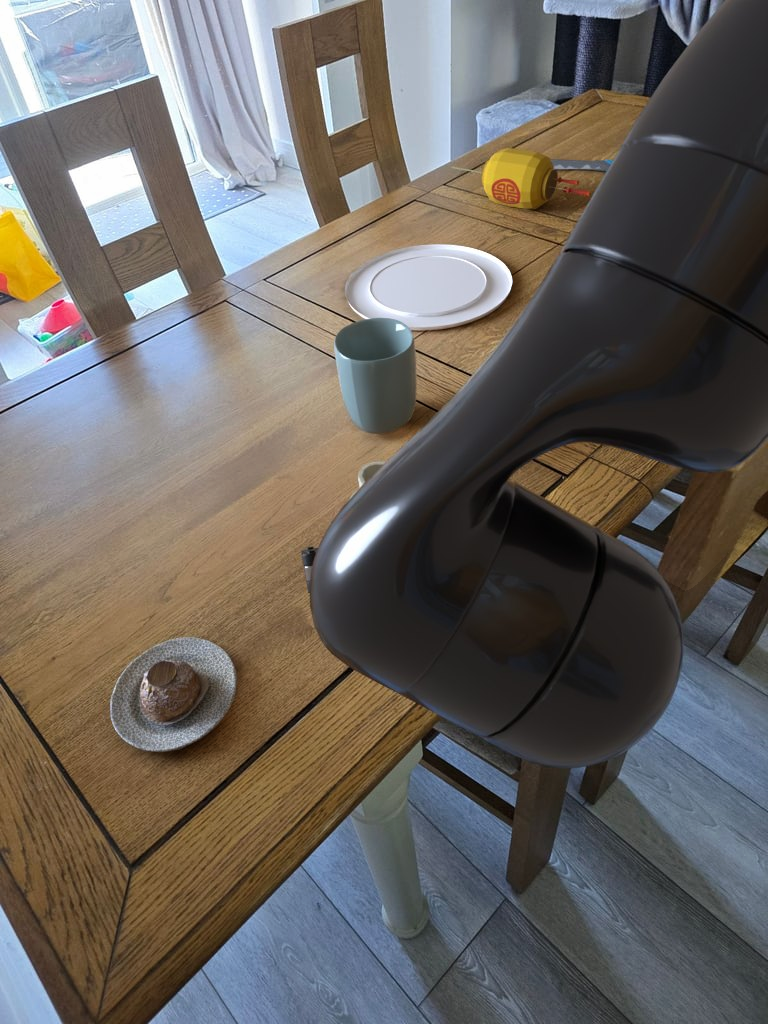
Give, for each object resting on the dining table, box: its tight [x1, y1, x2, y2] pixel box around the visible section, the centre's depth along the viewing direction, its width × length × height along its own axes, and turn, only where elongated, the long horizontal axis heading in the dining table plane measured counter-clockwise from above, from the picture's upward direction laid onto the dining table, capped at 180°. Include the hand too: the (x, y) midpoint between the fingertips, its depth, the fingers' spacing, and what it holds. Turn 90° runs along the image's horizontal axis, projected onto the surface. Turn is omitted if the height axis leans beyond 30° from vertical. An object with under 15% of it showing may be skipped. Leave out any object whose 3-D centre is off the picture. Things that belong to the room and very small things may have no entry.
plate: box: [344, 243, 513, 331], centre depth 117 cm, size 28×28×1 cm
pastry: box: [110, 636, 238, 753], centre depth 65 cm, size 12×12×5 cm
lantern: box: [450, 147, 592, 211], centre depth 134 cm, size 10×10×30 cm
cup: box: [333, 318, 418, 435], centre depth 89 cm, size 10×10×13 cm
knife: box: [550, 158, 614, 172], centre depth 146 cm, size 37×5×2 cm, turn 62°
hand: (400, 545), depth 53 cm, fingers open, 8 cm apart
